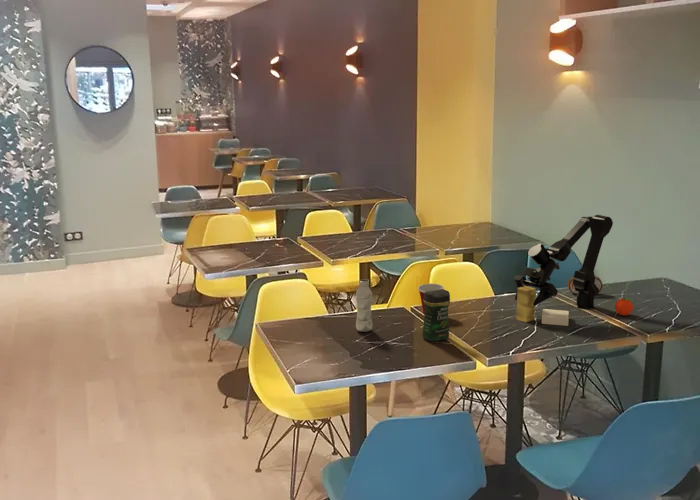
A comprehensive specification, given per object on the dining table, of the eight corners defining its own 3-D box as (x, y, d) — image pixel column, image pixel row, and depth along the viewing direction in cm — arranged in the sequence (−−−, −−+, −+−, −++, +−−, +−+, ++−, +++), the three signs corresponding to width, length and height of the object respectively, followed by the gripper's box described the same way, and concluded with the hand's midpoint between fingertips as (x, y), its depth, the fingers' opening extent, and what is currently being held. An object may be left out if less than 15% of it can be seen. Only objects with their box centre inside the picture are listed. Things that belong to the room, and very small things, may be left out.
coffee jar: (431, 343, 259) (432, 294, 255) (419, 337, 266) (419, 289, 262) (452, 339, 264) (454, 291, 260) (440, 333, 271) (441, 286, 267)
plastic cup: (413, 317, 289) (414, 289, 287) (421, 310, 299) (422, 282, 296) (440, 320, 285) (440, 291, 283) (446, 312, 295) (447, 284, 292)
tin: (600, 293, 321) (602, 275, 320) (602, 295, 318) (603, 277, 316) (566, 292, 323) (567, 274, 321) (568, 294, 320) (569, 276, 318)
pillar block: (524, 316, 289) (525, 285, 286) (534, 319, 285) (535, 288, 282) (516, 319, 286) (517, 288, 283) (525, 322, 282) (527, 290, 279)
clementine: (632, 312, 293) (633, 296, 292) (637, 318, 286) (638, 301, 285) (612, 312, 294) (613, 295, 292) (616, 317, 287) (618, 300, 286)
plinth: (568, 318, 287) (568, 310, 286) (568, 325, 278) (568, 318, 277) (542, 316, 290) (542, 308, 289) (541, 323, 281) (542, 316, 280)
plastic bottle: (374, 329, 276) (374, 279, 271) (369, 334, 270) (369, 283, 265) (358, 327, 278) (358, 277, 274) (353, 332, 272) (353, 282, 267)
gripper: (517, 255, 290) (497, 286, 286) (554, 264, 276) (534, 296, 272) (529, 271, 297) (510, 301, 293) (566, 280, 282) (546, 312, 278)
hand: (524, 302), depth 284 cm, fingers open, 9 cm apart
